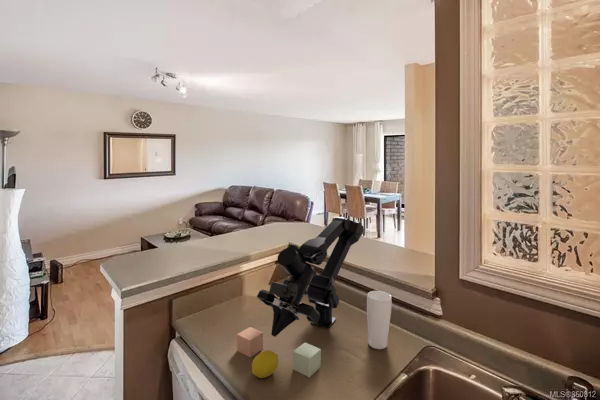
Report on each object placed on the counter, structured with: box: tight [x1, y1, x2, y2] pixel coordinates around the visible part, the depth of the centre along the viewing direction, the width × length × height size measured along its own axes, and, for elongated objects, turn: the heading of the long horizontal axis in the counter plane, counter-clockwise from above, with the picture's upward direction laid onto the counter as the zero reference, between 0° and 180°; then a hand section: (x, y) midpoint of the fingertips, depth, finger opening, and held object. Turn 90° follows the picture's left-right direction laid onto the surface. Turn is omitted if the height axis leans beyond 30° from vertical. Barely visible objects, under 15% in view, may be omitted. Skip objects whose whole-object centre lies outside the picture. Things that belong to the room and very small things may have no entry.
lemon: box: [251, 349, 279, 379], centre depth 79 cm, size 6×6×8 cm
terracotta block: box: [236, 326, 264, 358], centre depth 89 cm, size 5×5×5 cm
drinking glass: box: [366, 290, 393, 350], centre depth 91 cm, size 7×7×15 cm
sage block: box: [292, 342, 322, 378], centre depth 81 cm, size 5×5×5 cm
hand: (273, 335), depth 84 cm, fingers closed
